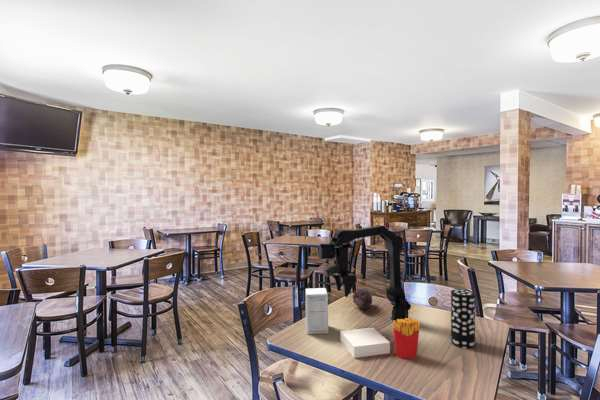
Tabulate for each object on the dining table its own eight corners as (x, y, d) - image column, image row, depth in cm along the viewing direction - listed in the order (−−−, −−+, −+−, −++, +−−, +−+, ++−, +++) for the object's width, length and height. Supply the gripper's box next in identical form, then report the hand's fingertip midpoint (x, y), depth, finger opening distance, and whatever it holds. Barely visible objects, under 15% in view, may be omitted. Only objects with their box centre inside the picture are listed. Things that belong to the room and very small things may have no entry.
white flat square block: (372, 337, 134) (372, 327, 134) (389, 353, 121) (389, 342, 120) (340, 340, 131) (340, 331, 131) (354, 357, 117) (354, 346, 117)
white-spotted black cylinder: (472, 340, 130) (472, 290, 130) (476, 350, 122) (476, 296, 122) (449, 337, 133) (449, 288, 133) (452, 347, 125) (452, 294, 125)
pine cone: (371, 315, 158) (371, 295, 158) (350, 314, 160) (350, 293, 160) (373, 303, 175) (372, 284, 175) (354, 302, 178) (354, 283, 177)
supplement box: (326, 325, 147) (326, 287, 147) (329, 333, 138) (328, 293, 137) (305, 325, 147) (305, 287, 146) (306, 334, 138) (305, 294, 137)
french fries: (394, 358, 117) (394, 321, 117) (392, 352, 121) (392, 317, 121) (421, 358, 116) (421, 322, 116) (418, 353, 120) (418, 317, 120)
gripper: (318, 255, 152) (318, 289, 152) (331, 263, 133) (331, 301, 134) (341, 254, 154) (341, 287, 154) (357, 262, 136) (357, 299, 136)
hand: (342, 293), depth 145 cm, fingers open, 9 cm apart
